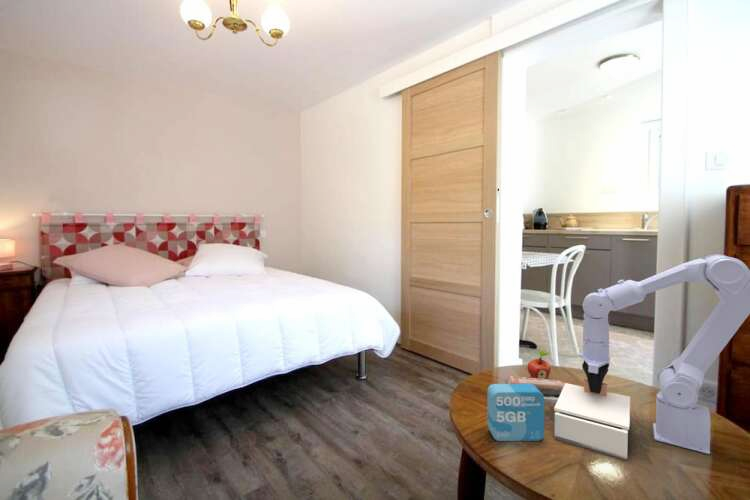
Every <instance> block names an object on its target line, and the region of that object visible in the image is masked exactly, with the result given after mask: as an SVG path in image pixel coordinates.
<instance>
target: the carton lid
mask: <svg viewBox="0 0 750 500" xmlns="http://www.w3.org/2000/svg"><path fill="white" fill-rule="evenodd" d="M564 383H565V385H564V387H563V389H562V392H561V394H560V396H559V398H558V401H557V403H556V404H555V405H554V407H553V410H554V411H555V412H556V411H558V412H562V413H566V414H570V415H574V416H578V417H582V418H585V419H589V420H593V421H597V422H601V423H605V424H609V425H613V426H616V427H620V428H624V429H628V431H629V430H630V424H631V423H630V422H631V419H630V416H631V396H629V395H628V396H627V395H624V394H620V393H614V392H609V391H608V383H605V382H603V383H602V388H601V392H600V394H598V393H594V392H590V389H589V384H588V379H584V380H583V386H581V385H577V384H572V383H567V382H564Z"/></svg>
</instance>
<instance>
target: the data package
mask: <svg viewBox="0 0 750 500" xmlns="http://www.w3.org/2000/svg"><path fill="white" fill-rule="evenodd" d="M486 391H487V392H486V393H487V395H486V396H487V427H488V430H489V432H490V434H491V435H492V437H493V439H494V440H496V441H498V442H538V441H541V440H543V438H544V436H545V403H544V396H543V394H542V393H541V392H540V391H539V390H538V389H537V388H536V387H535V386H534V385H533V384H505V383H491V384H490V385H489V386H488V388H487V390H486Z"/></svg>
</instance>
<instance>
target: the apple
mask: <svg viewBox="0 0 750 500" xmlns="http://www.w3.org/2000/svg"><path fill="white" fill-rule="evenodd" d="M548 355H549V352H548V351H546V349H540V350H539V357H538V358H534V359H532V360H529V362H528V364H527V368H526V369H527V372H528V374H529V375H530V378H538V379H548V378H549V377H550V374H551V368H552V367H551V364H550V363H549V362H548V361H546V360H545V359H542V357H544V356H548Z"/></svg>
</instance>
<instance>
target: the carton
mask: <svg viewBox="0 0 750 500" xmlns="http://www.w3.org/2000/svg"><path fill="white" fill-rule="evenodd" d="M554 439H555V440H558V441H561V442H565V443H568V444H571V445H574V444H575V445H574V446H578V447H581V446H582V447H581V448H584V447H585V448H584V449H587V448H588V450H591V451H595V452H598V453H601V454H605V455H607V456H611V457H614V458H618V459H622V460H624V461H628V445H629V430H628V429H624V428H620V427H616V426H613V425H609V424H605V423H601V422H597V421H593V420H589V419H585V418H582V417H578V416H574V415H570V414H566V413H562V412H558V411H555V412H554Z"/></svg>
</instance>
